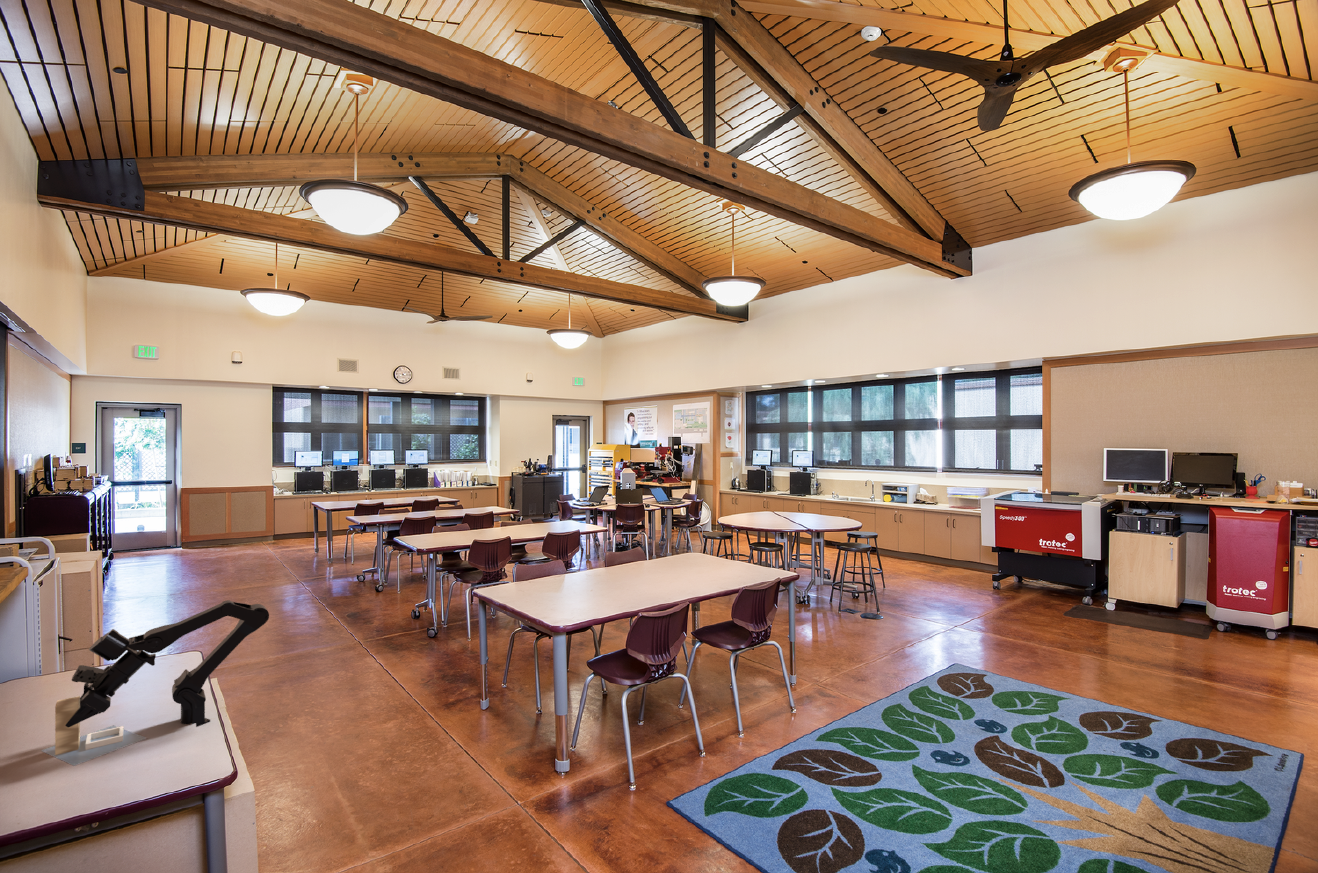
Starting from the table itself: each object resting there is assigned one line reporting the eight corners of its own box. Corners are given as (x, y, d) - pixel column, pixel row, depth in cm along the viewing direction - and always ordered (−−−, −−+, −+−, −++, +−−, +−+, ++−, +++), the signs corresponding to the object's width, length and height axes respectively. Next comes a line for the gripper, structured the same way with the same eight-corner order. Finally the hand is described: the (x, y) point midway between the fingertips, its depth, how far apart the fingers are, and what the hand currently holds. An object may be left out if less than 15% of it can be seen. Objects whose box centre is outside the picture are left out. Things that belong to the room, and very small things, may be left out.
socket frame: (123, 731, 177) (123, 725, 177) (122, 741, 171) (122, 735, 171) (87, 739, 172) (87, 734, 172) (85, 750, 166) (85, 744, 166)
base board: (147, 742, 172) (147, 738, 172) (74, 770, 158) (74, 765, 158) (113, 729, 180) (113, 725, 180) (40, 755, 166) (40, 750, 166)
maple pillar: (79, 743, 170) (79, 696, 170) (78, 749, 166) (78, 701, 166) (57, 748, 167) (57, 700, 167) (55, 755, 163) (55, 706, 163)
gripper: (97, 645, 177) (43, 693, 170) (93, 663, 163) (34, 717, 156) (133, 666, 182) (82, 714, 175) (132, 686, 168) (76, 739, 161)
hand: (68, 720), depth 167 cm, fingers open, 9 cm apart
